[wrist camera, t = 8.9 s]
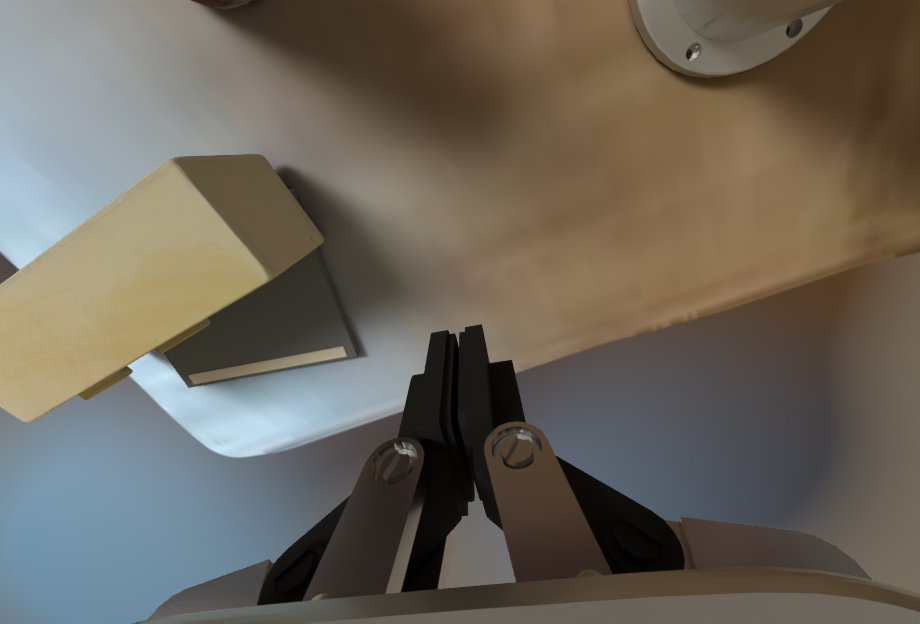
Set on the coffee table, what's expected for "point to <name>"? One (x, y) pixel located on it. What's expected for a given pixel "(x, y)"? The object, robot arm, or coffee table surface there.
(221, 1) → the brown rounded cylinder
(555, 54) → the coffee table surface
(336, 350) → the mat
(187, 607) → the robot arm
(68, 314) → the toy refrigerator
